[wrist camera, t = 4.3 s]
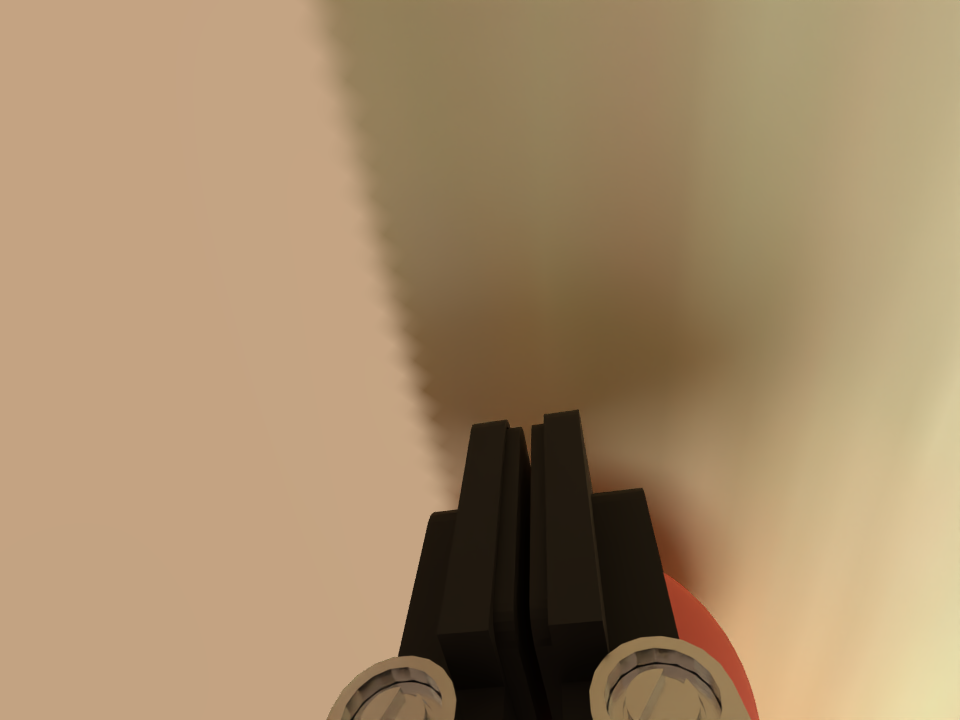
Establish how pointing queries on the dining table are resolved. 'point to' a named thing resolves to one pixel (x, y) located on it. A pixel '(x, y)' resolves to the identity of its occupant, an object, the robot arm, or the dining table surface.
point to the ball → (708, 639)
